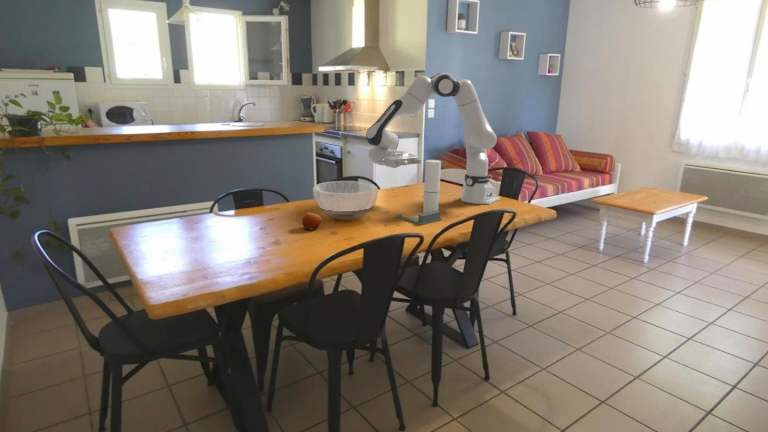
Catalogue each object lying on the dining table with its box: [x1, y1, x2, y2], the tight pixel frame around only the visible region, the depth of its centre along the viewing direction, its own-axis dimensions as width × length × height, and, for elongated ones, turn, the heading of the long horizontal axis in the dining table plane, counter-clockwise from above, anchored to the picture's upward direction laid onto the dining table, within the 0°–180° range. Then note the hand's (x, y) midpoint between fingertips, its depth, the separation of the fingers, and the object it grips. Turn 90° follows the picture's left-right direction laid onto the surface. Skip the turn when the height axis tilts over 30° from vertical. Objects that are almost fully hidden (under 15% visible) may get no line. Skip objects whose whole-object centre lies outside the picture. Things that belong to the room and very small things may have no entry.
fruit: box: [301, 212, 323, 232], centre depth 190 cm, size 8×8×8 cm
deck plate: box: [395, 210, 442, 226], centre depth 209 cm, size 13×16×4 cm
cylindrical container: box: [422, 159, 442, 213], centre depth 216 cm, size 7×7×25 cm
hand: (413, 162), depth 222 cm, fingers open, 8 cm apart
